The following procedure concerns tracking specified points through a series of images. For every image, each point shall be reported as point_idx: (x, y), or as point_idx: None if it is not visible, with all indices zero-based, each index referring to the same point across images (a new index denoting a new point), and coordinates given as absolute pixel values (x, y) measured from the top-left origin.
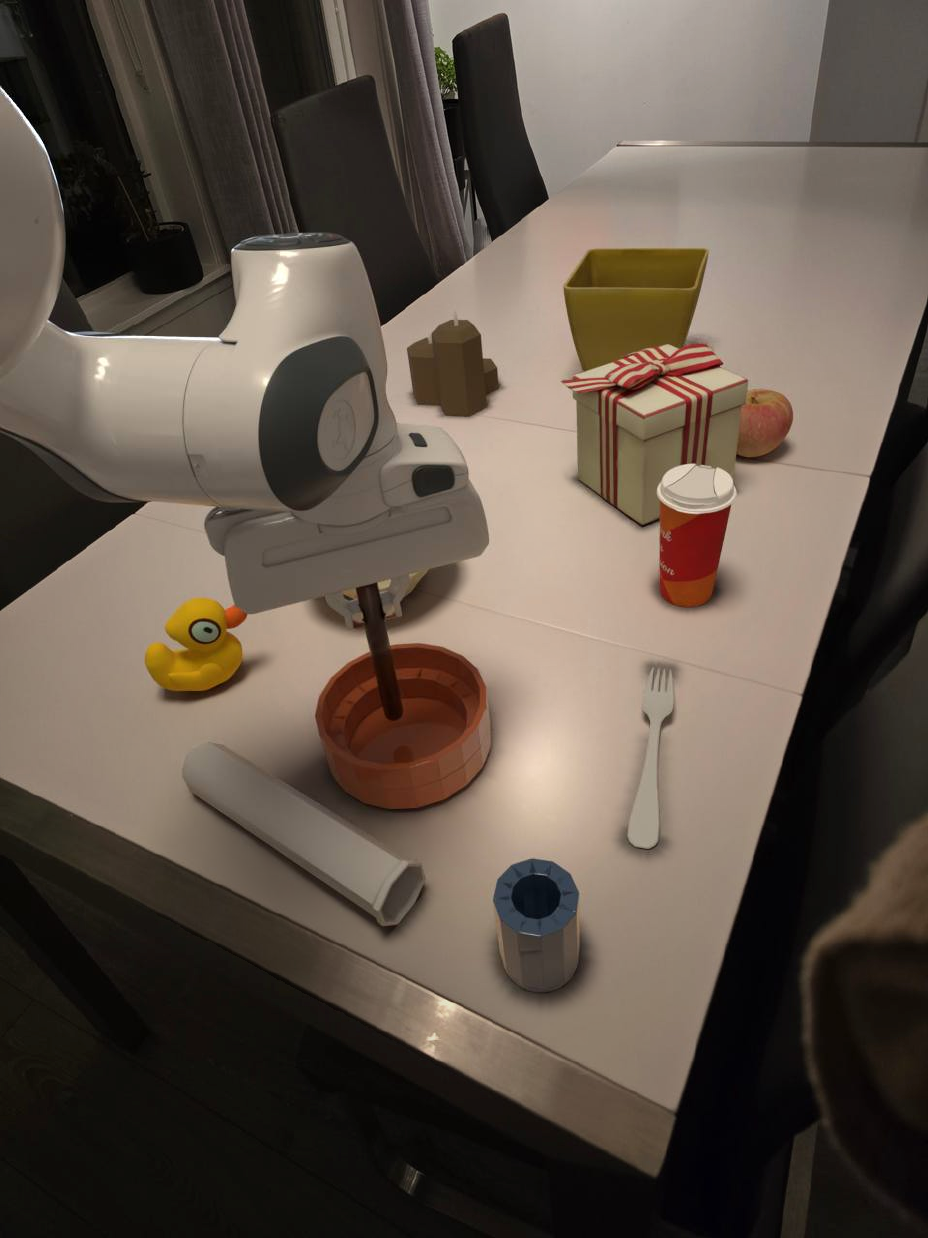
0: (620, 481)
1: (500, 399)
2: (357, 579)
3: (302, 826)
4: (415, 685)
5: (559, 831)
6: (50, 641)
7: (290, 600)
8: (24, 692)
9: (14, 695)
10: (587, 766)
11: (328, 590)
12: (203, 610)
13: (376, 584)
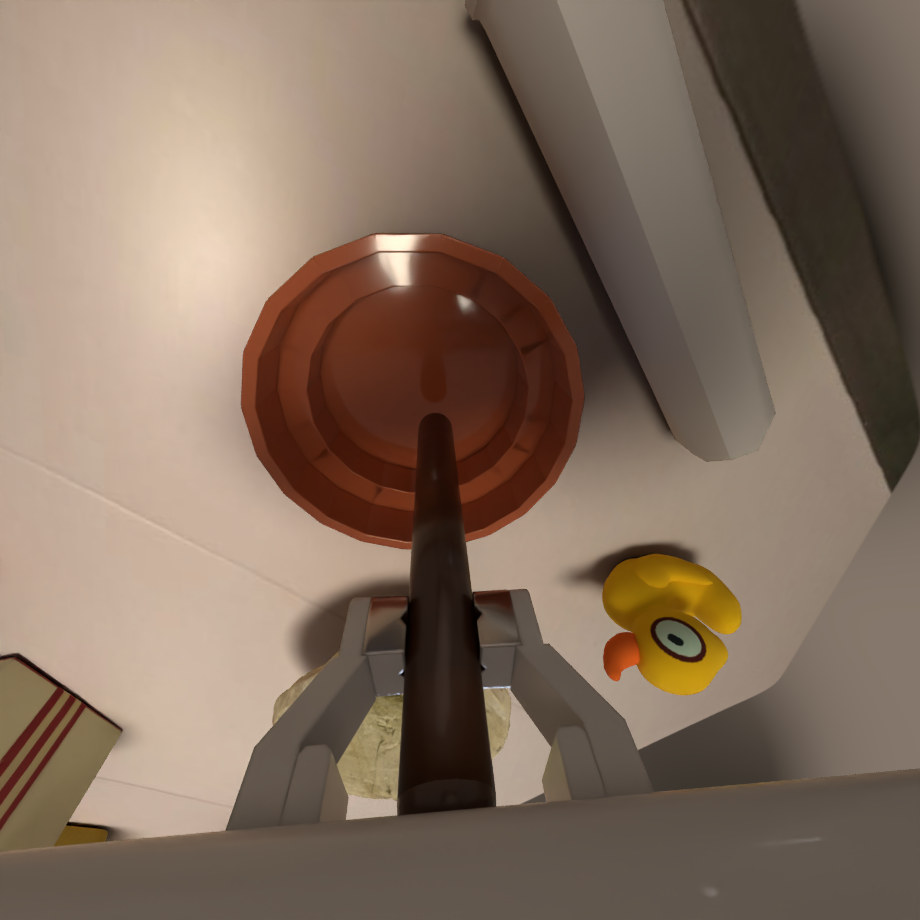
0: (12, 735)
1: (222, 824)
2: (508, 898)
3: (685, 186)
4: (389, 478)
5: (165, 52)
6: (760, 650)
7: (871, 818)
8: (814, 600)
9: (824, 599)
10: (100, 215)
11: (676, 843)
12: (683, 675)
13: (404, 766)
